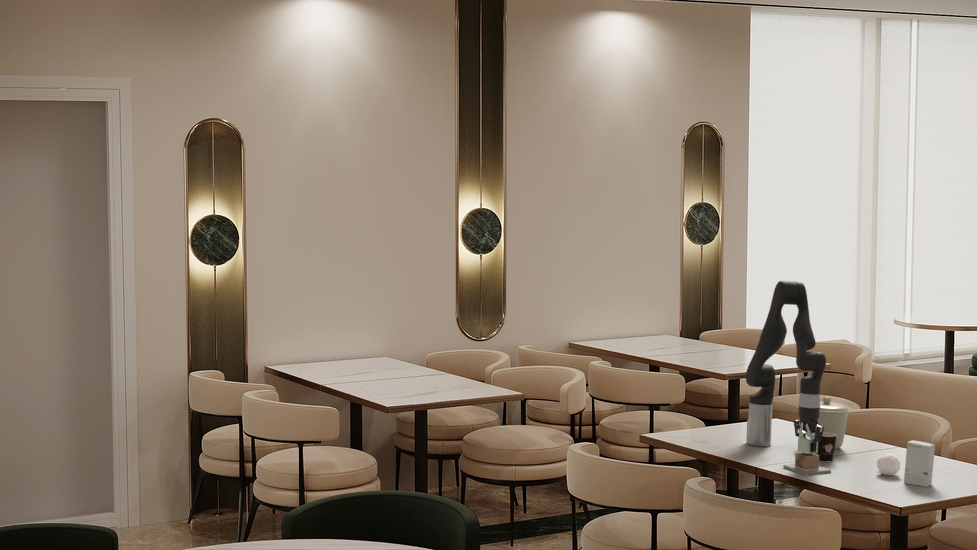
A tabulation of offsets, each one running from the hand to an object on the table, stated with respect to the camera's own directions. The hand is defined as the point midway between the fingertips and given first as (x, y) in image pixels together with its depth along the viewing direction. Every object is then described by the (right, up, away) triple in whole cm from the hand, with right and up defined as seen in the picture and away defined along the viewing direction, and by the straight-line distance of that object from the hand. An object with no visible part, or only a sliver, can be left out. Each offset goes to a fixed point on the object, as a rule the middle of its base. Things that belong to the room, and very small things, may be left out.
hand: (807, 450), depth 376 cm
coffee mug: (+11, -7, +18) cm, 22 cm away
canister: (+20, -6, +40) cm, 45 cm away
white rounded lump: (+28, -8, -2) cm, 30 cm away
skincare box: (+34, -9, -16) cm, 39 cm away
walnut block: (0, -6, 0) cm, 6 cm away
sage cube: (0, 0, 0) cm, 0 cm away
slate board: (0, -7, 0) cm, 7 cm away
